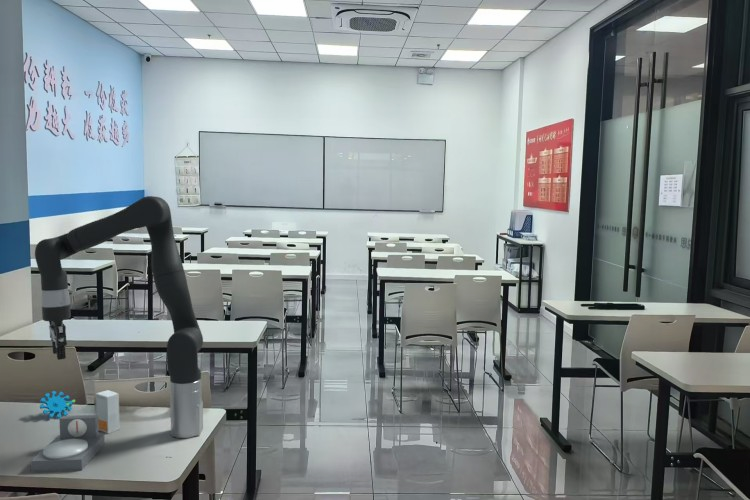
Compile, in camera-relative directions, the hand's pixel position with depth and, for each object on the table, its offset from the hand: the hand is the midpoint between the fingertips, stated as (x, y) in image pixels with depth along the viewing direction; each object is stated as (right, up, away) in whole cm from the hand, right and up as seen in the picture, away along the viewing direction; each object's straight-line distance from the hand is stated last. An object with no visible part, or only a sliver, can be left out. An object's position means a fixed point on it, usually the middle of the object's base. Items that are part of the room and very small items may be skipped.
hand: (59, 356), depth 175 cm
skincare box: (+12, -25, +7) cm, 28 cm away
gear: (-11, -24, +19) cm, 32 cm away
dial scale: (+10, -26, -12) cm, 31 cm away
